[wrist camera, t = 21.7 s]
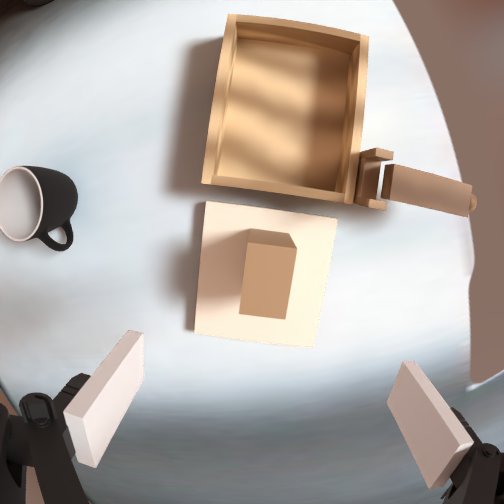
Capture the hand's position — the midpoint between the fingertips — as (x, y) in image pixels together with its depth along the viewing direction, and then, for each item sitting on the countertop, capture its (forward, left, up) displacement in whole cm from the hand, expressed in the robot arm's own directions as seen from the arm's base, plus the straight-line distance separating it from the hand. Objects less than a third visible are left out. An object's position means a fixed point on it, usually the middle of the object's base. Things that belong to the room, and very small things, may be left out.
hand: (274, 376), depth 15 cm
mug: (-3, -29, -27) cm, 39 cm away
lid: (+3, 0, -26) cm, 26 cm away
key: (-11, +16, -19) cm, 27 cm away
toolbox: (-18, +1, -26) cm, 32 cm away
